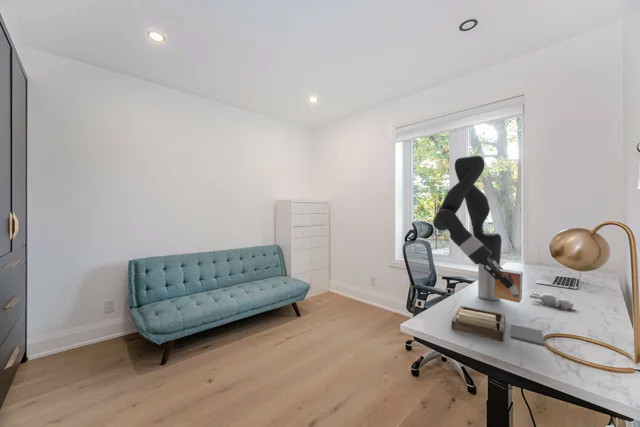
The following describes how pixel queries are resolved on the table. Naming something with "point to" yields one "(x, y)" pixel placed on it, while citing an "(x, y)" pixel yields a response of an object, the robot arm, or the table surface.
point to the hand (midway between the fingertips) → (510, 284)
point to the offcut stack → (477, 318)
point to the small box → (514, 291)
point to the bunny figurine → (553, 300)
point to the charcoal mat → (527, 334)
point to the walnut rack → (480, 330)
